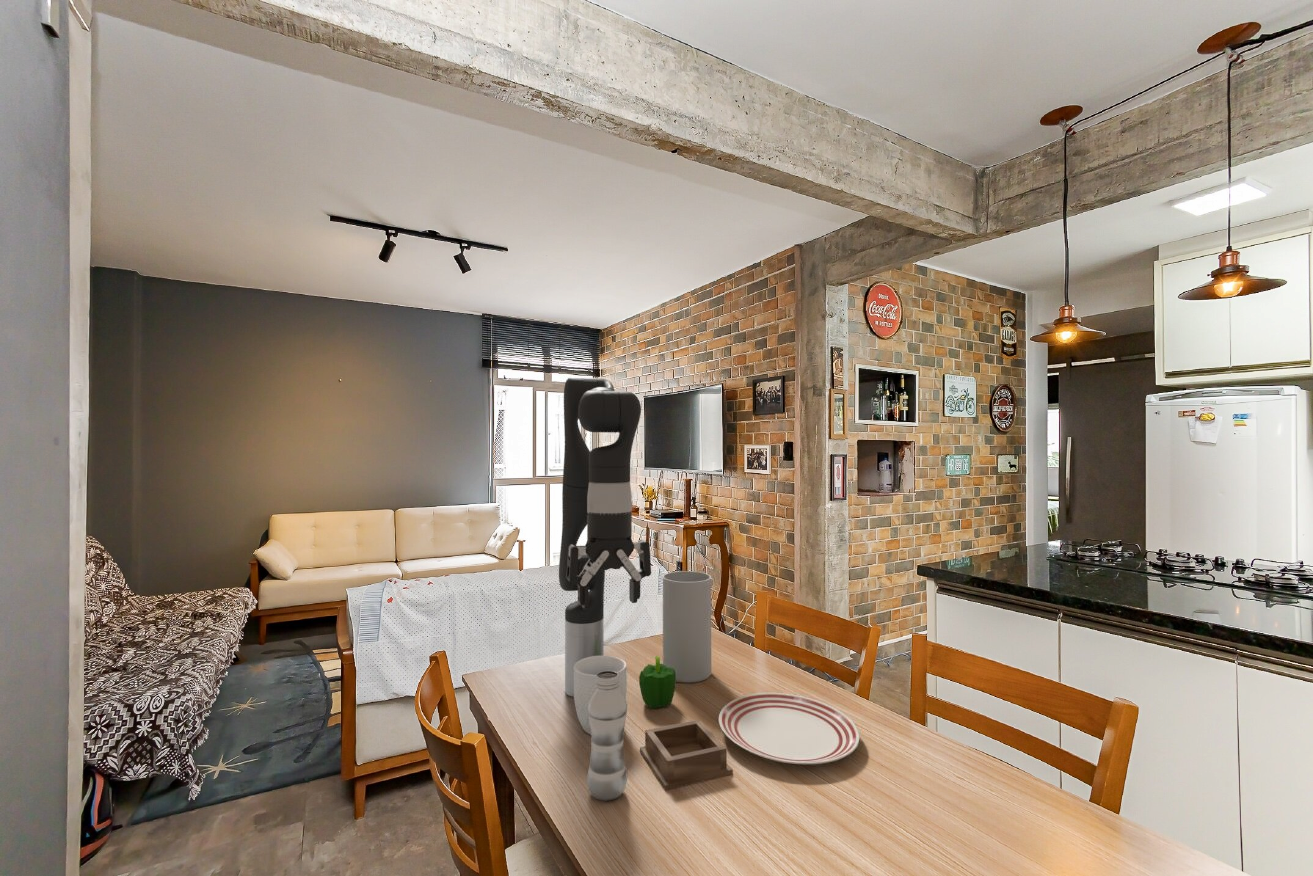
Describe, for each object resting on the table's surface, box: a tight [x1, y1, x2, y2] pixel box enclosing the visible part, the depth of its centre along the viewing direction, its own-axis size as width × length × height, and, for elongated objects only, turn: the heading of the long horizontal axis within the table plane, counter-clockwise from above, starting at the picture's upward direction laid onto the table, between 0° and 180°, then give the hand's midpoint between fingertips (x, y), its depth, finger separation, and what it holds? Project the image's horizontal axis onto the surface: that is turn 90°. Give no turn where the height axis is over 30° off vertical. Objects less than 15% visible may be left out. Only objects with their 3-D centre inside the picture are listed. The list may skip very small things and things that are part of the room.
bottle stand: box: [639, 719, 734, 791], centre depth 104 cm, size 13×13×4 cm
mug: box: [573, 655, 628, 735], centre depth 115 cm, size 15×11×13 cm
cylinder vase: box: [662, 570, 712, 684], centre depth 145 cm, size 12×12×25 cm
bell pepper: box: [638, 655, 676, 709], centre depth 128 cm, size 8×8×10 cm
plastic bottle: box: [586, 671, 628, 801], centre depth 95 cm, size 6×7×20 cm
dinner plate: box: [718, 692, 860, 765], centre depth 113 cm, size 28×27×3 cm
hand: (609, 604), depth 95 cm, fingers open, 8 cm apart
